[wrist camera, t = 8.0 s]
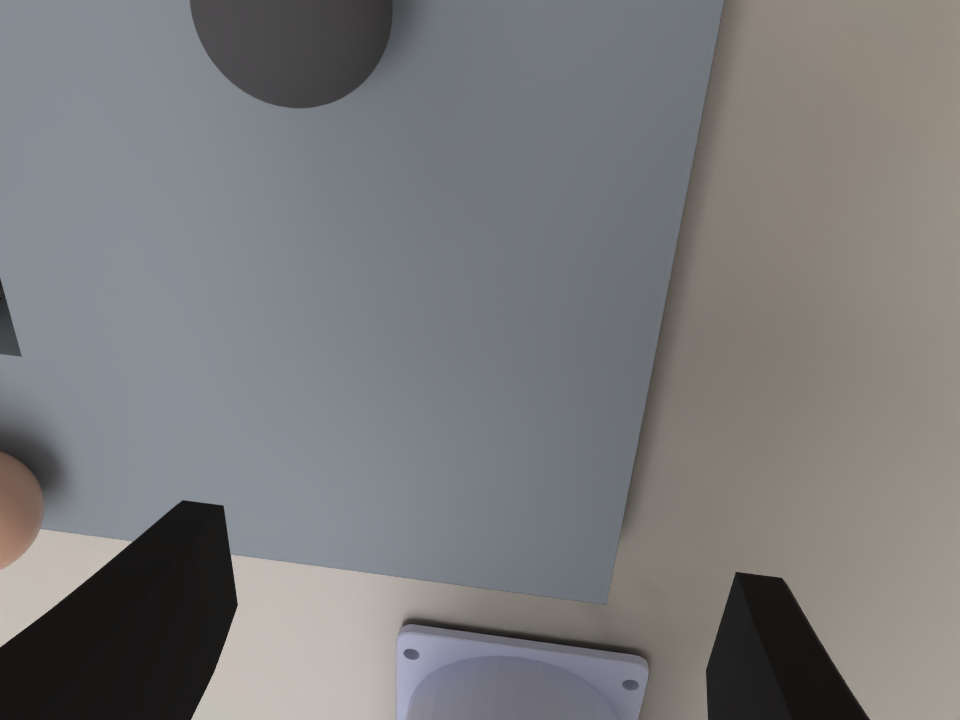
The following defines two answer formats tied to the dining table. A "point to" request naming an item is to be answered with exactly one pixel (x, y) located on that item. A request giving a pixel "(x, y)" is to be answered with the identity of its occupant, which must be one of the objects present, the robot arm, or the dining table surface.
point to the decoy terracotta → (18, 509)
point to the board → (348, 282)
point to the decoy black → (294, 46)
